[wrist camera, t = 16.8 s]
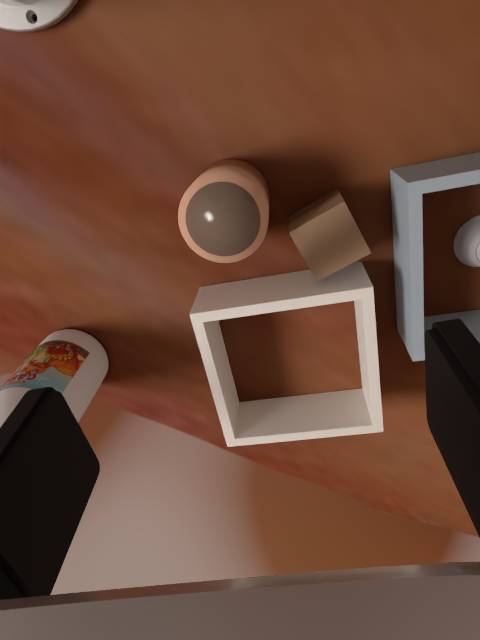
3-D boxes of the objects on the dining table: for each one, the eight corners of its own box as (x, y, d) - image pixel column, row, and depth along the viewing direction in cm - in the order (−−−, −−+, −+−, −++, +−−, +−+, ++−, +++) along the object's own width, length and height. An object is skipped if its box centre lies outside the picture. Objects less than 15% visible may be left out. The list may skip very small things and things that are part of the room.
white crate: (199, 287, 44) (189, 314, 39) (361, 261, 42) (373, 286, 37) (232, 409, 52) (227, 446, 46) (372, 394, 49) (383, 431, 44)
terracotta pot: (184, 167, 39) (167, 183, 33) (262, 151, 38) (259, 164, 32) (203, 242, 42) (190, 269, 36) (275, 229, 41) (275, 255, 35)
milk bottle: (122, 353, 49) (36, 503, 31) (90, 394, 52) (-5, 552, 35) (61, 313, 47) (-67, 450, 30) (32, 359, 50) (-100, 506, 33)
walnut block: (287, 216, 40) (288, 233, 36) (337, 187, 39) (344, 201, 35) (313, 260, 42) (317, 281, 38) (361, 234, 41) (371, 253, 36)
